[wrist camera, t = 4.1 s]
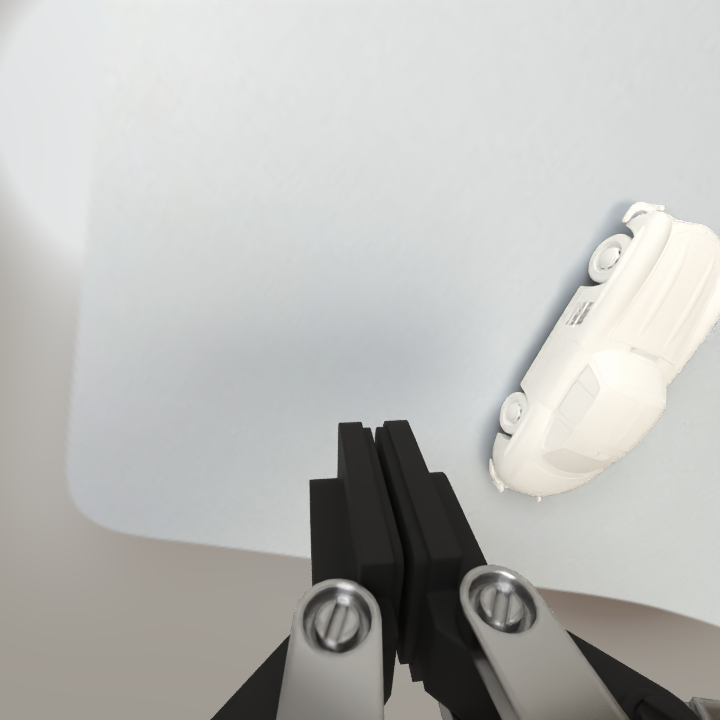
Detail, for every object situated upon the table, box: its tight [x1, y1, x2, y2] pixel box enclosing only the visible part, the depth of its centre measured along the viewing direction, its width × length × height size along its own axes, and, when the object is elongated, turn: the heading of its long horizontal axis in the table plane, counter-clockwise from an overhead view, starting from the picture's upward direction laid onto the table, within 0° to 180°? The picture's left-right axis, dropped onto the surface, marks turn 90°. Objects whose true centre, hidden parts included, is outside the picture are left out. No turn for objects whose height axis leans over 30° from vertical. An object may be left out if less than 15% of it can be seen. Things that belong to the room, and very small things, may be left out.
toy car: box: [489, 202, 720, 502], centre depth 16 cm, size 5×12×4 cm, turn 157°
